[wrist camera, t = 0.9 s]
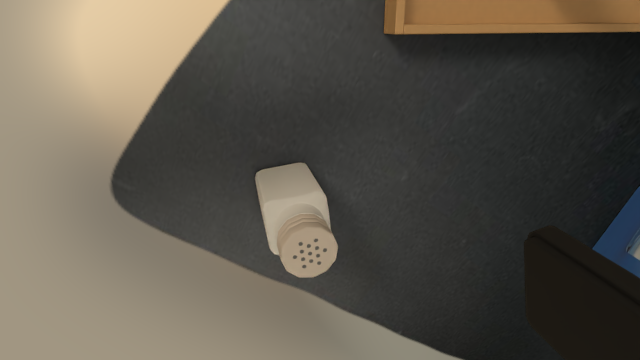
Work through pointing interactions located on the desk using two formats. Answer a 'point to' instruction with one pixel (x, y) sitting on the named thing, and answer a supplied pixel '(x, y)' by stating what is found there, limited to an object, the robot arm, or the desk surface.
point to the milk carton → (624, 237)
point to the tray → (510, 16)
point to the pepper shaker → (296, 219)
